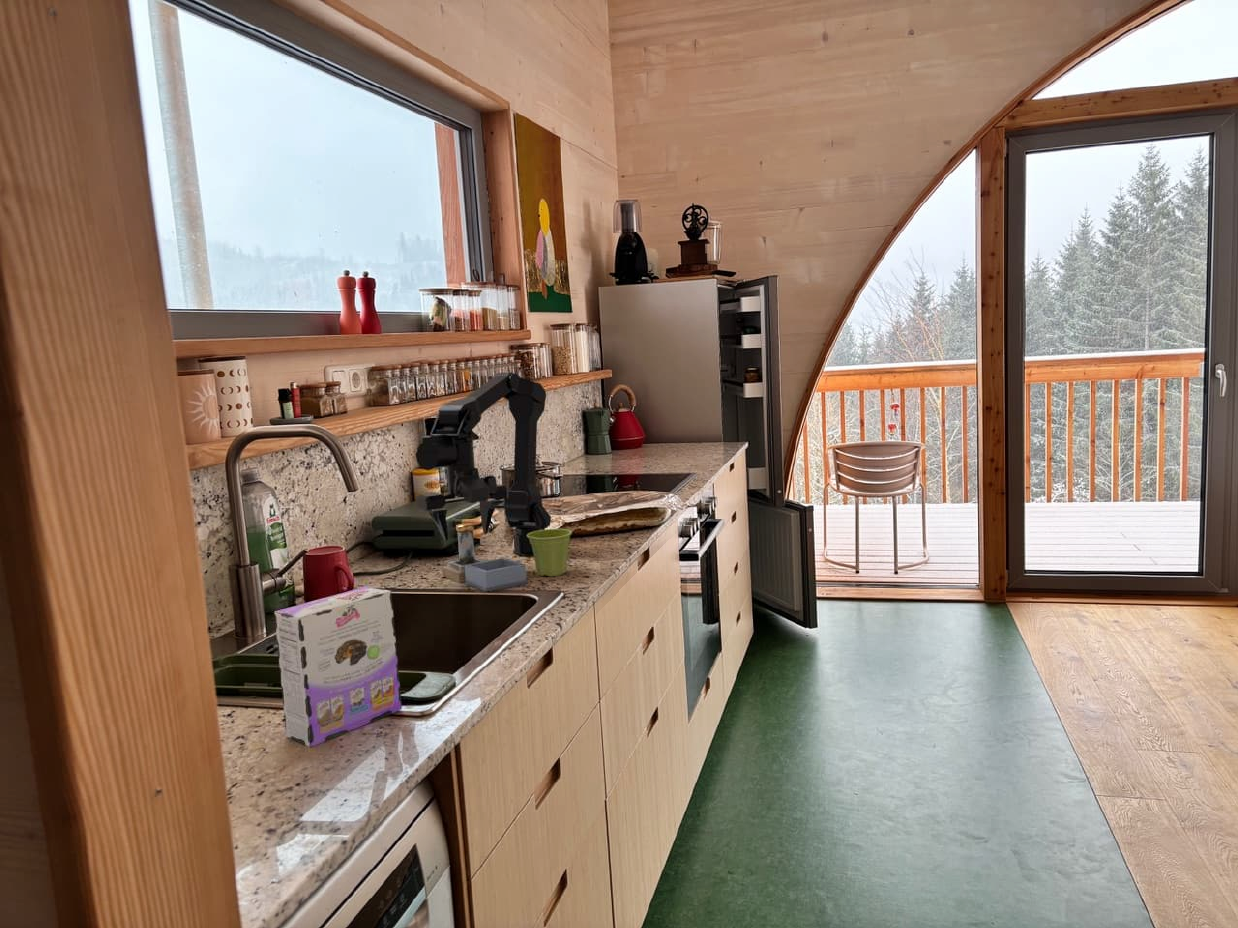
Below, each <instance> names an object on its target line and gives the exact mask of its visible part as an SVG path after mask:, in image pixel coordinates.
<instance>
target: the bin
mask: <svg viewBox="0 0 1238 928" xmlns="http://www.w3.org/2000/svg"><path fill="white" fill-rule="evenodd" d="M482 561H483V562H478V563H472V564H467V565H465V576H466V582H465V584H466V585H468V586H469V587H473V588H475V589H478V590H481V591H482V590H483V591H482V592H485V591H490V592H493V590H494V591H498V590H499V591H500V590H502V589H503V590H504V589H508V588H513V587H517V586H518V587H519V586H522V585H526V584H527V574H526V573H527V571H526V563H525V564H524V563H522V562H520V561H515V560H512V559H509V558H507V557H500V558H499V557H498V558H494V559H489V560H488V559H487V560H482Z"/></svg>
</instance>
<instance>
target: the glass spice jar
mask: <svg viewBox="0 0 1238 928" xmlns="http://www.w3.org/2000/svg"><path fill="white" fill-rule="evenodd" d="M455 528H456V531H457V542H458V559H459V560H460V565H462V566H463V565H467V564H472V563H475V558H476V557H475V547H474V546H475V544H474V542H475V541H474V529H475V528H474V524H473V523H472V522H471V523H467V522H466V523H459V524H455Z"/></svg>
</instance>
